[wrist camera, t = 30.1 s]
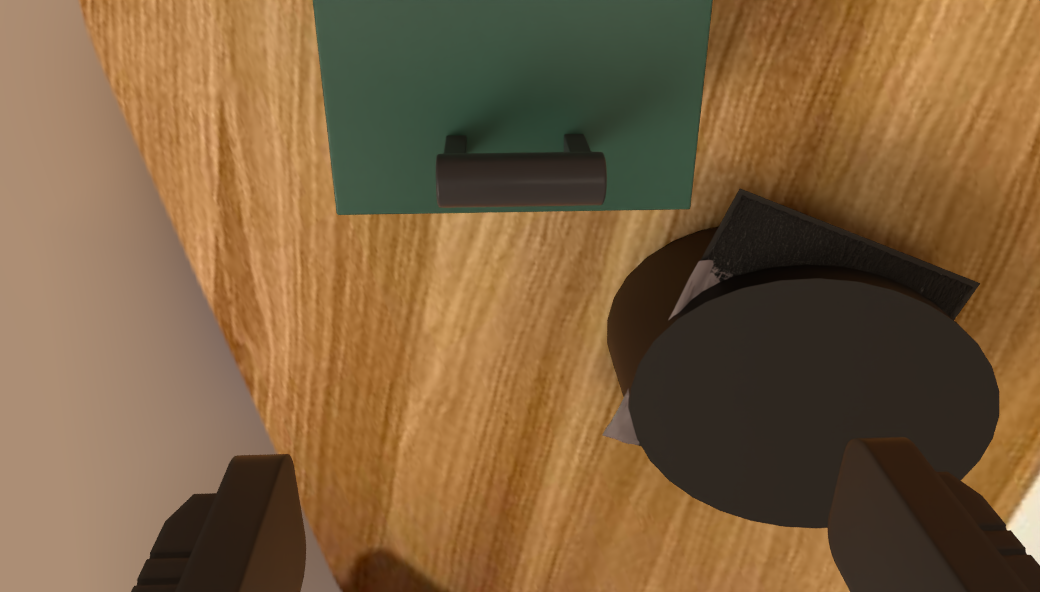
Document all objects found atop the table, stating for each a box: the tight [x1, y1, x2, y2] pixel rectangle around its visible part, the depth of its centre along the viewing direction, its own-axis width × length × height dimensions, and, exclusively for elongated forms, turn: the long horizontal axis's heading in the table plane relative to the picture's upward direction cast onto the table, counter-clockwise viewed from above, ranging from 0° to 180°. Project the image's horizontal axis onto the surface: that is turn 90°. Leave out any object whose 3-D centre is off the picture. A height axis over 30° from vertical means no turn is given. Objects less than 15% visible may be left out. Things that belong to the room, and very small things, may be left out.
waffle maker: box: [603, 189, 999, 528], centre depth 39 cm, size 14×18×8 cm
